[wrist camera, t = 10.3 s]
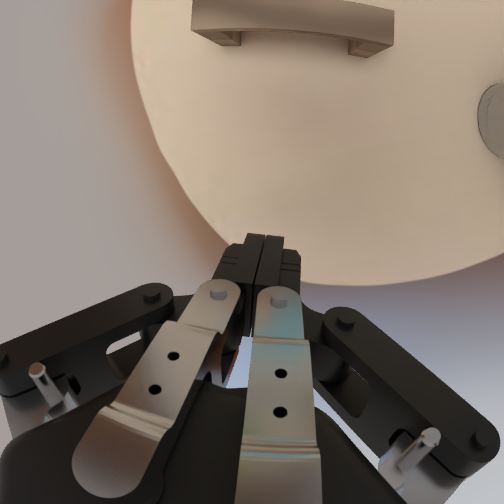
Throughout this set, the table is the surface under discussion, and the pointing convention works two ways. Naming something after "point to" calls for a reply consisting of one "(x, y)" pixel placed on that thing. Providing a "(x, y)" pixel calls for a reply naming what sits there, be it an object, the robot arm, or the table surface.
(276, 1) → the bridge
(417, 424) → the robot arm
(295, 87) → the table surface
